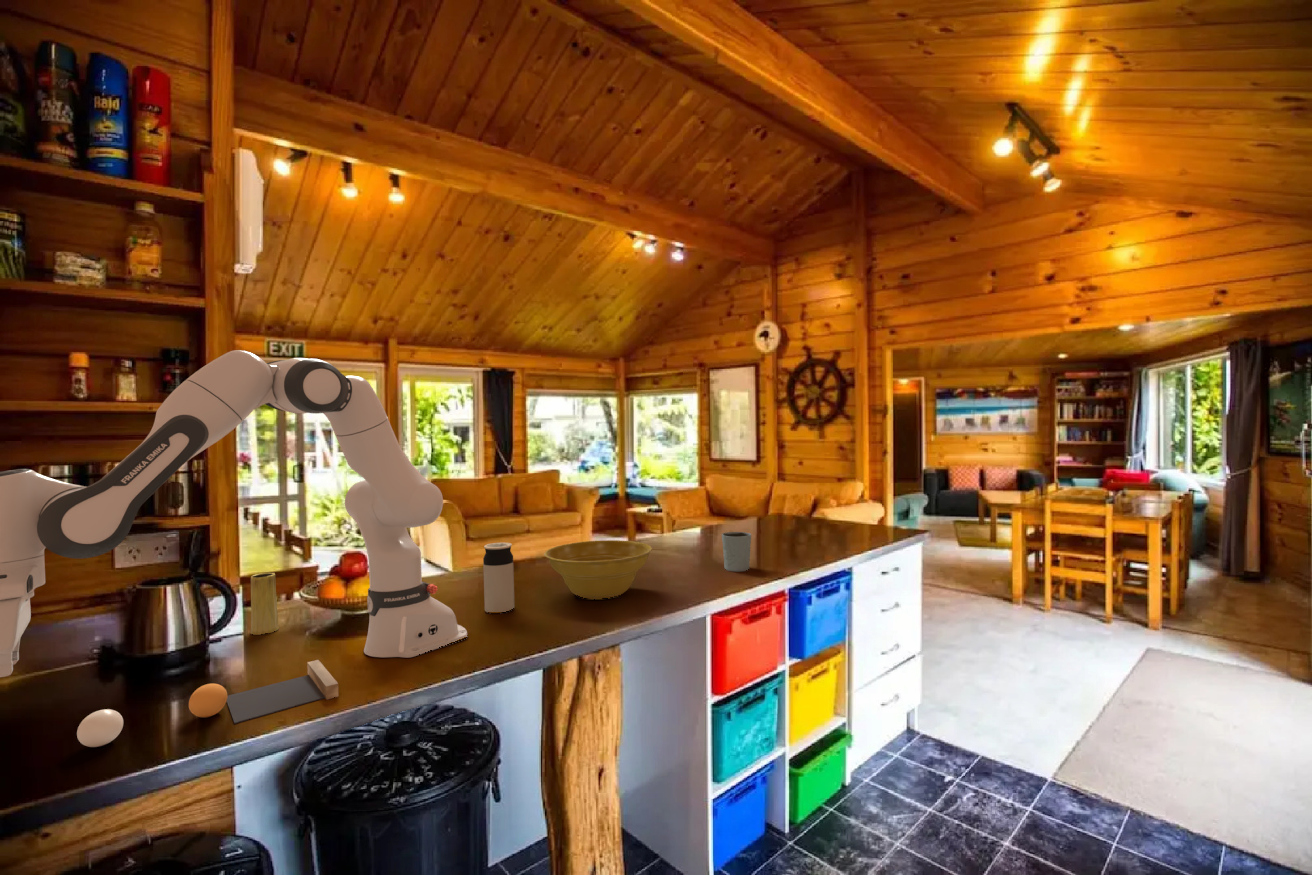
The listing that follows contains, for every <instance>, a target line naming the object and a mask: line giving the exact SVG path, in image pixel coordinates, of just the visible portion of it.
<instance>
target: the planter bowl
mask: <svg viewBox="0 0 1312 875" xmlns="http://www.w3.org/2000/svg"><path fill="white" fill-rule="evenodd" d="M652 551H653V547H652V546H651V545H650V544H648V543H644V542H639V541H632V540H619V539H618V540H616V539H614V540H611V539H610V540H609V539H608V540H607V539H605V540H602V539H601V540H588V541H586V540H585V541H577V542H570V543H567V544H566V543H565V544H560V545H557V546H554V547H550V548H549V549H547V550H545V552H544V553H543V556H544V557H545V558H547V559H548V561H549V564H550V566H551V567H552V569H553V571H555V572H556V573H558V574H559V575H560V576H561V577H562V579H563V581H564V583H565V585H566V586H567V588H568V589H569V590H570V592H571V593H572V594H574V595H576V596H577V595H578V596H580V597H583V598H582V599H584V598H591V599H590V600H594V599H595V600H603V599H602V598H608V599H611V598H610V597H613V598H615V597H614V596H617V595H620V596H622V595H623V594H624V593H625V592H626V591H628V590H629V589H630V587H631V585H632V583H633V581H634V580H635V577H636V575H637V572H638V571H639V570H640V569H641V568H643V567H644V566H645V565H646V562H647V560H648V557H649V554H650V553H652ZM621 594H622V595H621ZM578 596H577V597H578ZM580 597H579V598H580ZM617 597H618V596H617Z"/></svg>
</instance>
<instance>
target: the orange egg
mask: <svg viewBox="0 0 1312 875" xmlns="http://www.w3.org/2000/svg"><path fill="white" fill-rule="evenodd" d="M227 696H228V692H227V689H226V688H225V687H224V686H223V685H221V684H218V683H207V684H204V685H201V686H200V687H198V688H196V690H194V692H192V694H191V695H190V698H189V700H188V708H189V711H190V713H191V714H193V715H194V716H196V717H199V718H210V717H212V716H214V715H216V714H219V712H220V711H221V710H223V708H224V707H225V705H226V704H227Z"/></svg>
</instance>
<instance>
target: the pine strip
mask: <svg viewBox="0 0 1312 875" xmlns="http://www.w3.org/2000/svg"><path fill="white" fill-rule="evenodd" d="M306 665H307V667H306V668H307V675H309V676H310V677H311V678H312V680H313V681H314V682H315V684H316V685H317V687H318V688H319V689H320V691H321V692H322V693H323V695H324V696H325V698H324V699H325V700H326V701H327V700H330V699H333V698H334V697H335V698H338V697H339V682H338V681H337V680H336V679H335V678H334V677H333V676H332V674H331V673H330V672H329V671H328V669H327V668H326V667H325V666H324V664H323V663H322V662H321V661H320V660H319V659H316V660H312V661H307V663H306Z"/></svg>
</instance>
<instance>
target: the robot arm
mask: <svg viewBox="0 0 1312 875" xmlns="http://www.w3.org/2000/svg"><path fill="white" fill-rule="evenodd" d="M263 405H266V406H268V407H270V408H272V409H275V410H276V411H277V410H278V411H281V412H286V413H287V412H288V413H292V414H298V415H299V414H301V415H302V414H316V415H317V414H324V416H325V417H326V418H327V420H328V421H329V423H330V426H331V429H332V431H333V432H334V435H335V438H336V440H337V442H338V445H339V447H340V449H341V452H342V454H343V456H344V458H345V461H346V462H347V465H348V466H349V468H350V469H351V470H352V471H353V472H355V473H357V474H358V475H359V476H361V477H362V479H364V480H360V481H358V482H355V483H354V484H353V485H352V486H351V487H350V488H349V489H348V490H347V492H346V494H345V498H344V506H345V510H346V513H347V514H348V515H349V517H351V518H352V519H353V520H354V522H355V523H356V525H357V527H358V529H359V531H360V534H361V537H362V538H363V541H364V542H363V543H364V545H365V548H366V553H367V558H368V573H369V576H368V577H369V588H368V589H367V596H366V597H367V599H366V600H367V610H368V614H369V618H368V619H369V620H368V622H369V623H368V629H367V630H368V631H367V635H366V641H365V645H364V648H363V653H364V654H365V655H367V656H369V657H373V658H407V659H408V658H413V657H416V656H420V655H423V654H425V652H426V653H428V651H429V652H431V651H430V650H432V651H435V650H437V649H440V648H442V647H441V646H443V647H446V646H448V645H447V644H449V643H451V642H455V641H457V640H459V639H462V638H464V637H467V638H468V636H467V635H468V631H467V629H466V628H465V627H463V626H462V625H461V624H458V620H457V617H456V614H455V613H454V611H453V609H452V608H451V607H450V606H448V605H446V604H444V603H443V602H441V601H439V600H438V599H436V598H434V597H432V596H431V594H432V595H435V594H436V593H437V592H438V590H439V589H438V586H437V585H435V584H434V583H428V582H425V581H423V580H422V573H423V572H422V552H421V549H420V547H419V546H418V544H416V542H415V541H414V540H413V539H412V538H411V536H410V534H409V531H408V529H407V528H417V527H423V526H427V525H430V524H432V523H434V522H435V521H437V519H438V518H439V517H440V516H441V513H442V510H443V508H444V507H443V506H444V498H443V494H442V491H441V489H440V488H439V487H438V486H437V485H436V484H434V483H432V482H431V481H430V480H428V479H426V477H424V476H423V475H422V473H420V472H419V470H417V468H416V467H415V466H414V465H413V464H412V462H411V461H410V460H409V458H408V457H407V456H406V454H405V452H404V451H403V450H402V447H401V446H400V443H399V441H398V439H397V437H396V435H395V434H396V433H395V432H394V430H393V428H392V425H391V423H390V421H389V420H390V419H389V417H388V416H387V412H386V411H385V408H384V406H383V404H382V402H381V401H380V399H379V396H378V395H377V393H376V392H375V390H374V388H373V387H372V385H371V384H370V382H369V381H368V380H367V379H365V378H364V377H362V376H357V375H344V374H343V373H342V372H341V371H340V370H339V369H338V368H337V367H335V366H334V365H332V364H331V363H329V362H327V361H324V360H322V359H318V358H305V357H293V358H289V359H280V360H274V361H269V362H266V361H265V360H263V359H262V358H261V357H259V356H258V355H256V354H255V353H252V352H250V351H246V350H240V349H239V350H238V349H237V350H235V349H234V350H231V351H228V352H226V353H224V354H222V355H221V356H219V357H217V358H215V359H213V360H211V361H210V362H209V363H207V364H206V365H204V366H203V367H201V368H199V369H198V370H197V371H195V372H194V373H193V374H192V375H190V376H189V377H188V378H186V379H185V380H184V381H182V383H180V384H179V385H178V386H177V387H176V388H175V389H174V390H173V391H172V392H171V393H170V394H169V395H168V396H167V398H165V399H164V401H163V402H162V403H161V404H160V406H159V407H158V409H157V410H156V413H155V418H154V422H153V425H152V428H151V430H150V431H149V433H148V434H147V436H146V437H145V438H144V440H143V441H142V442H141V443H140V444H138V446H137V447H136V448H135V449H134V450H133V451H131V452H130V453H129V454H128V455H126V457H125V458H124V459H122V460H121V461H120V462H119V463H117V464H116V465H115V466H114V467H113V468H112V469H111V470H110V471H109V472H108V473H107V474H105V475H104V476H103V477H102V478H101V479H99V480H98V481H96V482H94V483H92V484H90V485H88V486H86V485H85V486H84V485H80V484H73V483H70V482H65V481H62V480H57V479H54V478H51V477H49V476H46V475H43V474H41V473H38V472H36V471H35V470H33V469H29V468H16V469H12V470H11V469H9V470H4V471H0V678H4V677H9V676H11V675H12V673H13V671H14V665H17V662H18V661H19V660H20V652H19V651H20V643H21V637H22V635H24V632H25V630H26V629H27V627H28V625H29V623H30V622H31V616H32V614H31V613H32V611H31V608H32V607H31V598H33V597H34V596H35V590H36V588H39V587H41V586H43V585H45V584H46V568H45V567H46V566H45V565H46V562H45V549H47V550H48V551H50V552H52V553H53V554H55V555H58V556H60V557H64V558H68V559H78V560H79V559H89V558H95V557H98V556H101V555H104V554H107V553H108V552H111V551H113V550H114V549H115V548H116V547H118V546H120V544H122V542H124V540H125V539H126V537H127V536H128V534H129V533H130V530H131V529H132V526H133V524H134V521H135V518H136V516H137V514H138V512H139V510H140V508H141V507H142V506H143V504H144V503H145V502H146V501H147V500H148V499H149V498H150V497H151V496H152V495H154V493H155V492H156V491H157V490H158V489H160V487H161V486H163V485H164V484H165V483H166V482H167V481H168V480H169V479H171V477H172V476H173V475H174V474H175V473H176V472H177V471H178V470H179V469H180V468H181V467H182V466H183V465H184V464H186V463H187V462H188V461H190V460H192V458H194V457H195V456H197V455H198V454H200V453H202V452H203V451H204V450H206V449H208V448H209V447H211V446H212V445H214V444H216V443H217V442H219V441H220V440H222V439H223V438H224V437H225V436H227V435H228V434H229V433H231V432H232V431H233V430H234V429H235V428H237V427H238V426H239V425H240V424H241V423H242V422H243V421H244V420H245V419H247V417H249V416H250V415H251V413H252V412H254V410H256V409H258V408H259V407H261V406H263ZM455 643H456V642H455ZM445 645H446V646H445ZM449 645H450V644H449ZM439 647H440V648H439ZM419 654H420V655H419Z"/></svg>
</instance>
